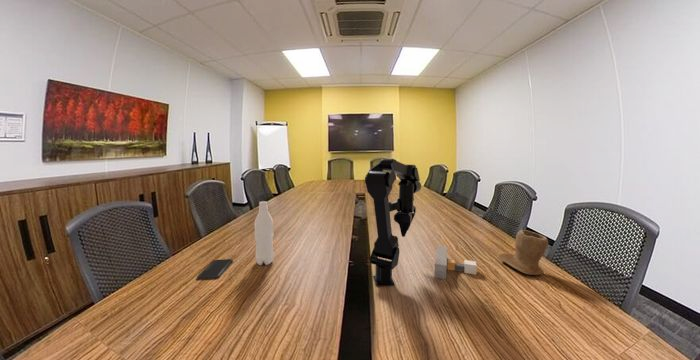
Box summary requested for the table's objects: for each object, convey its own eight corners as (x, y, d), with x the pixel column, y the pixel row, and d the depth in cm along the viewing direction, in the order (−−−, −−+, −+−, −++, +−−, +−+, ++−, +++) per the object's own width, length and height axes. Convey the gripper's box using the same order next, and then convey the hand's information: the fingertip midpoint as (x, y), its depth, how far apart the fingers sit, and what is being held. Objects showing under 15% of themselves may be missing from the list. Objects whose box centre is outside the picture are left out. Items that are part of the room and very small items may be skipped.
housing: (434, 277, 94) (434, 263, 93) (436, 256, 112) (437, 245, 112) (446, 279, 92) (446, 265, 92) (446, 258, 111) (446, 246, 110)
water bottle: (268, 267, 101) (266, 204, 98) (251, 265, 102) (249, 203, 99) (277, 260, 108) (275, 200, 105) (261, 258, 109) (259, 200, 106)
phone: (233, 259, 106) (218, 276, 92) (233, 261, 106) (218, 279, 92) (213, 259, 106) (195, 277, 91) (213, 262, 106) (195, 280, 91)
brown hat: (553, 277, 95) (557, 237, 93) (523, 278, 94) (526, 237, 92) (523, 260, 110) (525, 225, 108) (496, 260, 109) (498, 225, 107)
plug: (447, 270, 99) (447, 261, 99) (447, 265, 103) (447, 257, 103) (476, 274, 96) (476, 265, 96) (475, 270, 100) (475, 261, 99)
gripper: (391, 191, 116) (390, 225, 117) (381, 197, 98) (380, 237, 100) (416, 192, 112) (415, 227, 114) (410, 200, 95) (409, 241, 96)
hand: (405, 233), depth 106 cm, fingers open, 9 cm apart
